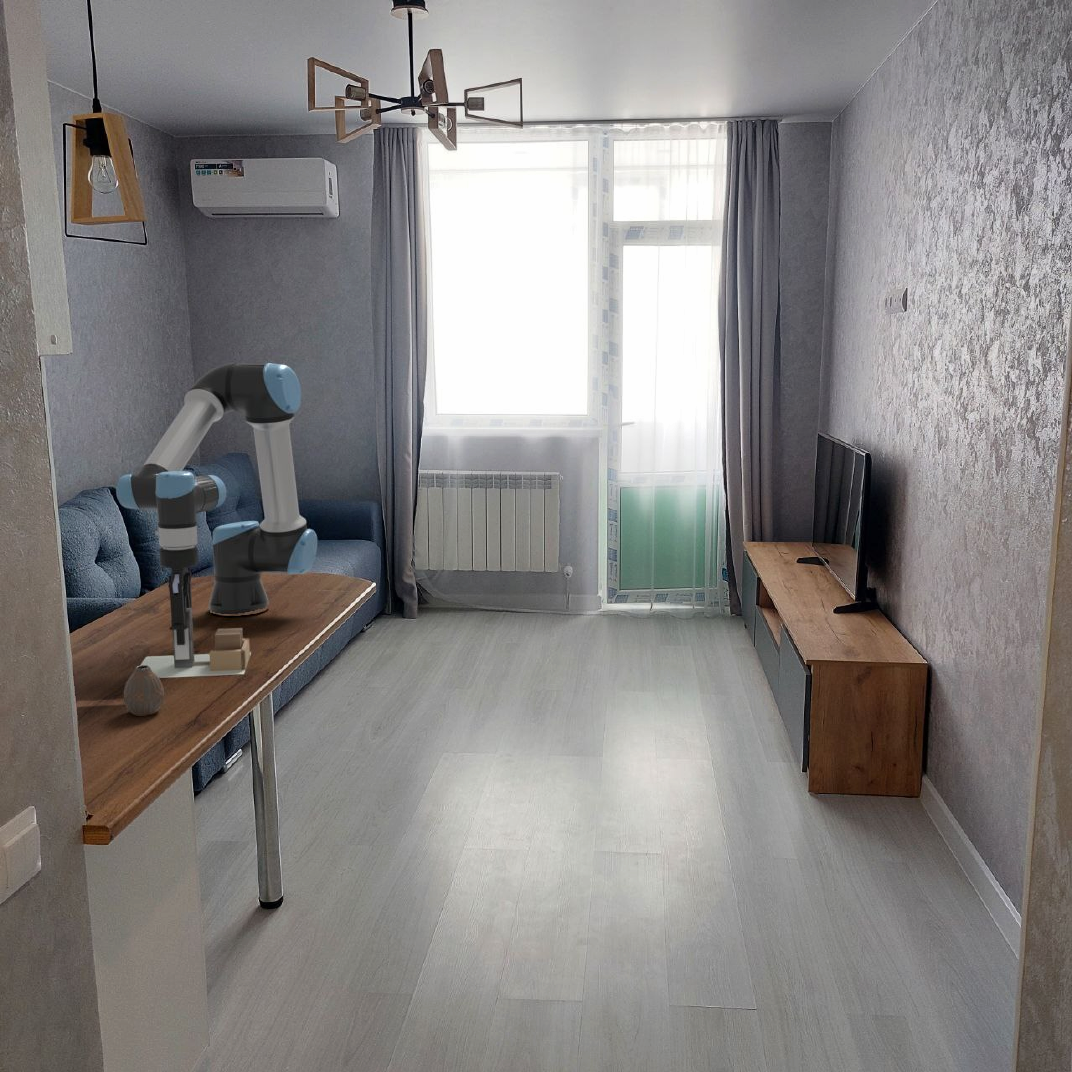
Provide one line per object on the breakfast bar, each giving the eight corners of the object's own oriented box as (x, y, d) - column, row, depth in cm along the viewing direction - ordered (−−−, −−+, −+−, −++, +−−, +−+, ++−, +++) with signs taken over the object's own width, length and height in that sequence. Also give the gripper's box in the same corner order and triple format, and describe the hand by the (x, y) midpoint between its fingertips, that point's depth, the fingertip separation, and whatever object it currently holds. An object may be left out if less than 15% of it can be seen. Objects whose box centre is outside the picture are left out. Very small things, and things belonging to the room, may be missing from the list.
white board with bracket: (146, 661, 217) (145, 638, 216) (251, 656, 221) (250, 634, 220) (131, 683, 201) (129, 659, 200) (244, 678, 205) (243, 655, 204)
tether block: (177, 662, 213) (174, 607, 211) (243, 659, 215) (241, 605, 213) (173, 669, 208) (170, 613, 206) (241, 666, 210) (238, 610, 208)
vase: (131, 706, 188) (129, 661, 187) (169, 705, 189) (166, 661, 187) (119, 719, 181) (116, 672, 180) (158, 718, 182) (156, 672, 180)
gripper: (166, 540, 214) (172, 646, 218) (151, 554, 198) (158, 668, 202) (203, 539, 215) (208, 644, 219) (191, 553, 199) (197, 666, 203)
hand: (184, 655), depth 210 cm, fingers closed on tether block, 3 cm apart
